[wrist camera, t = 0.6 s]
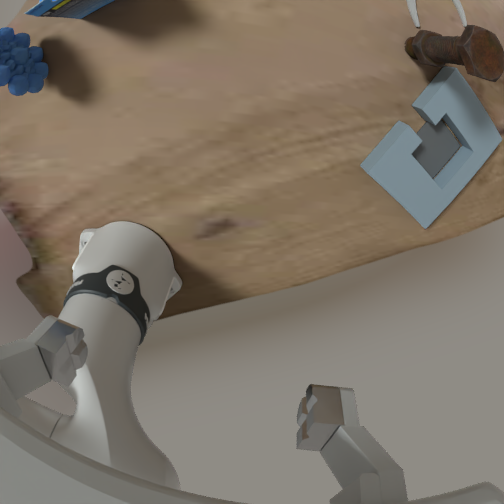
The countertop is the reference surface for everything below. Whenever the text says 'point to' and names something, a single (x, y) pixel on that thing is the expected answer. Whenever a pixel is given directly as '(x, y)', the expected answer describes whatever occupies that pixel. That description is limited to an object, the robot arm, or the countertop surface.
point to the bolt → (460, 51)
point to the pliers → (413, 13)
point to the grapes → (20, 63)
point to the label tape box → (66, 8)
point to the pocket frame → (435, 148)
